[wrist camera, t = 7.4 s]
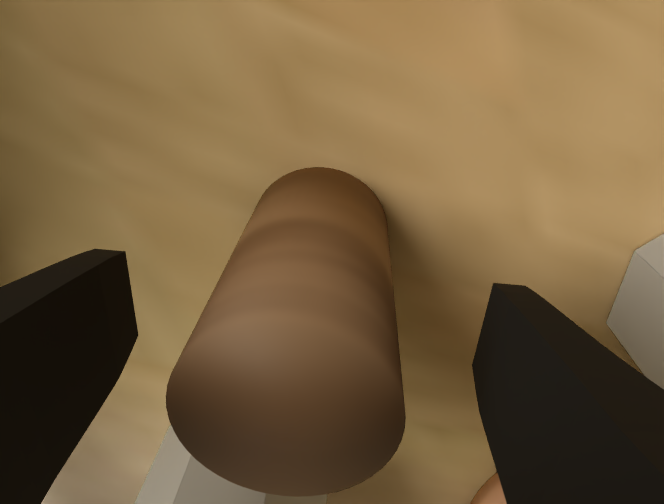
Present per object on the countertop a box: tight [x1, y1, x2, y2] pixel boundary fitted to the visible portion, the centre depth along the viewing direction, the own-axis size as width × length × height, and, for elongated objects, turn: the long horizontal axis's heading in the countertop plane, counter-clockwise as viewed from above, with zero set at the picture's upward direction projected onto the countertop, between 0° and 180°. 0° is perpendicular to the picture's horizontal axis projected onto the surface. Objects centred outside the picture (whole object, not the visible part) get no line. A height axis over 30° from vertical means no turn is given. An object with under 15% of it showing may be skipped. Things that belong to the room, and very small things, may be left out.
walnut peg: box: [166, 167, 405, 497], centre depth 10 cm, size 4×4×6 cm
